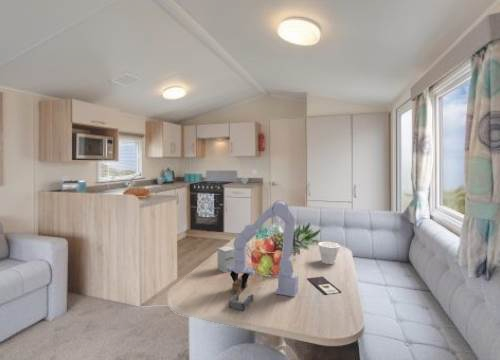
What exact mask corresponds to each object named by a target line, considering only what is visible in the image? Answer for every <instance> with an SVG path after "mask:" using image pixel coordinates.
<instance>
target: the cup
mask: <svg viewBox="0 0 500 360" xmlns="http://www.w3.org/2000/svg"><path fill="white" fill-rule="evenodd" d="M339 248H340V244H339V243H337V242H333V241H321V242H318V250H319V253H320V258H321V259H320V260H321V263H323V264H325V265H334V264H336V261H337V260H336V259H337V255H338V253H339V250H340V249H339Z"/></svg>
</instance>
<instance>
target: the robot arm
mask: <svg viewBox="0 0 500 360" xmlns="http://www.w3.org/2000/svg"><path fill="white" fill-rule="evenodd" d="M276 216H277V218H280V219H281V220H282V221H283V222H284V229H283V240H282V249H281V250H282V252H281V258H280V259H279V261H278V265H279V271H278V272H277V273H278V274H277V289H276V290H275V294H277V295H281V296H282V295H283V296H288V297H292V298H293V297H294V298H295V297H296V296H297V294H298V291H299V276H298V275H297V274H294V267H293V260H292V257H293V248H294V247H293V245H294V235H295V233H294V232H295V226H296V225H295V222H296V218H295V216H294V214H293V212H292V210H291V209H290V208H289V206H288V204H286V203H285V202H284V201H283V200H275V202H273V204H271V205H270V206H268V207H267V208H266V210H264V211H263V213H261V214H260V216H259V217H258V218H257V219H256V220H255V221H254V222H253V223H248V225H247V224H246V225H245V226H244V229H243V230H241V231H240V232H239V233H238V234H237V235H236V236H235V238H234V239H233V240H234V241H233V248H234V249H235V251H234V266H227V267H226V271H228V272H230V275H229V276H230V277H231V279H232V281H233V283H234V282H235V281H236V280H237V279H238V278H239V274H241V275H240V276H241V277H242V288H243V289H244V288H245V286H246V282H247V283H248V280H249V276H255V275H256V273H255V272H256V271H255V270H254V269H251V268H247V251H246V246H247V243H249V242H250V241H251V240H252V239H253V238H254V237H255V236H256V235H257V234H258V232H259V230H258V229H259V228H260V227H261V226H262V225H264V224H265V223H266V222H267V221H268V220H269V219H272V218H276ZM245 289H246V288H245ZM245 289H244V290H245Z"/></svg>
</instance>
